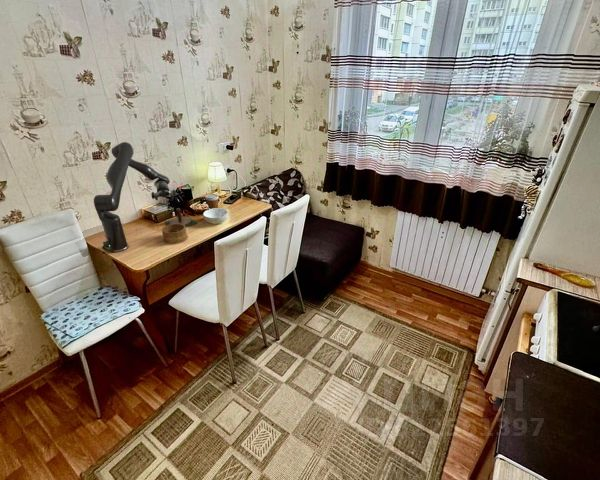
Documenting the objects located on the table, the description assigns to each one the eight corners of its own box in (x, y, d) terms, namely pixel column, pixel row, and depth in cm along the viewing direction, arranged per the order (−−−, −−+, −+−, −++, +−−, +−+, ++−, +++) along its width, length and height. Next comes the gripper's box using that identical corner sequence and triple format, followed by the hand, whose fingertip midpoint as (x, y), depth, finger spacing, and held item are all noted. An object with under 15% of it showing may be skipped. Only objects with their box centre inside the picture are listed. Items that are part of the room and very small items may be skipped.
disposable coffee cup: (220, 212, 229) (218, 197, 224) (206, 213, 228) (204, 198, 222) (220, 208, 238) (218, 193, 232) (207, 208, 236) (205, 194, 230)
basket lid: (170, 228, 204) (167, 214, 199) (168, 220, 216) (166, 206, 211) (193, 224, 209) (190, 211, 204) (190, 216, 221) (188, 203, 216)
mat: (174, 230, 203) (174, 229, 202) (165, 222, 213) (164, 221, 213) (196, 223, 212) (196, 223, 212) (186, 216, 222) (186, 215, 222)
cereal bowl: (200, 221, 216) (198, 211, 213) (221, 215, 226) (220, 206, 223) (211, 229, 205) (210, 219, 202) (233, 222, 215) (232, 213, 212)
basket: (164, 245, 185) (162, 234, 181) (163, 236, 195) (161, 225, 192) (188, 241, 190) (186, 230, 186) (185, 232, 200) (184, 222, 197)
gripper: (150, 185, 197) (150, 193, 184) (173, 183, 202) (175, 190, 189) (152, 196, 201) (153, 205, 188) (175, 193, 206) (177, 202, 193)
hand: (164, 198), depth 188 cm, fingers open, 8 cm apart
